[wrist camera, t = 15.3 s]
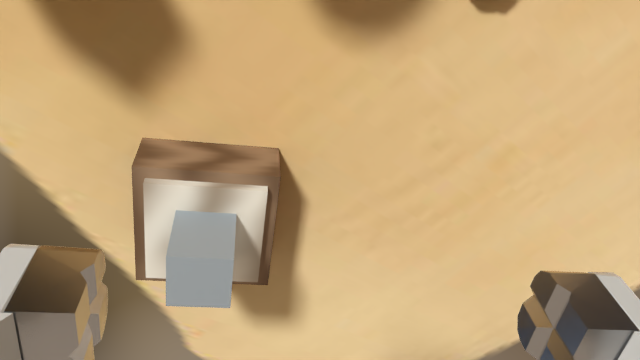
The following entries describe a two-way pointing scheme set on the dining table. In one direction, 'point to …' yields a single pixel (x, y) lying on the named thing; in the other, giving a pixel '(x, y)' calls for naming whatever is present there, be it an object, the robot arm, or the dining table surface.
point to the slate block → (200, 259)
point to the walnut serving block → (205, 200)
